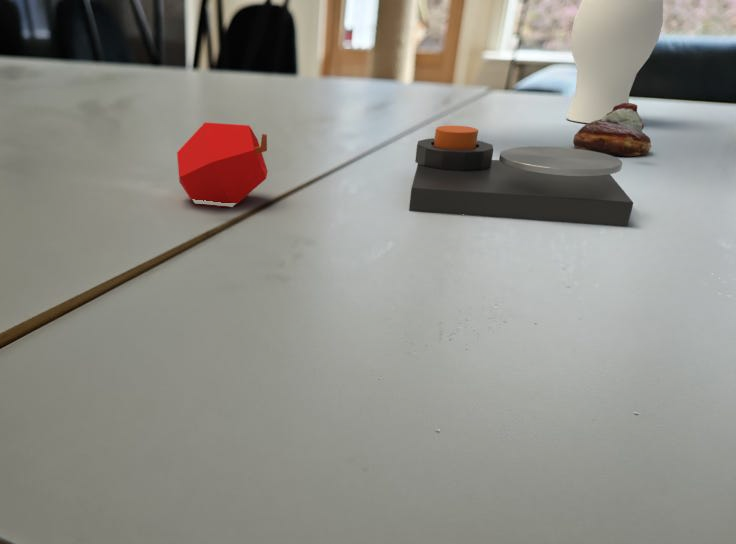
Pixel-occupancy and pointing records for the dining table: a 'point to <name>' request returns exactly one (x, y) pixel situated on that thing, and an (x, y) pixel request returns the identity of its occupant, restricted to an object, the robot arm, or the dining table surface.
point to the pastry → (615, 133)
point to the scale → (511, 189)
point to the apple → (222, 163)
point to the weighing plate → (560, 161)
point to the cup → (610, 52)
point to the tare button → (456, 137)
